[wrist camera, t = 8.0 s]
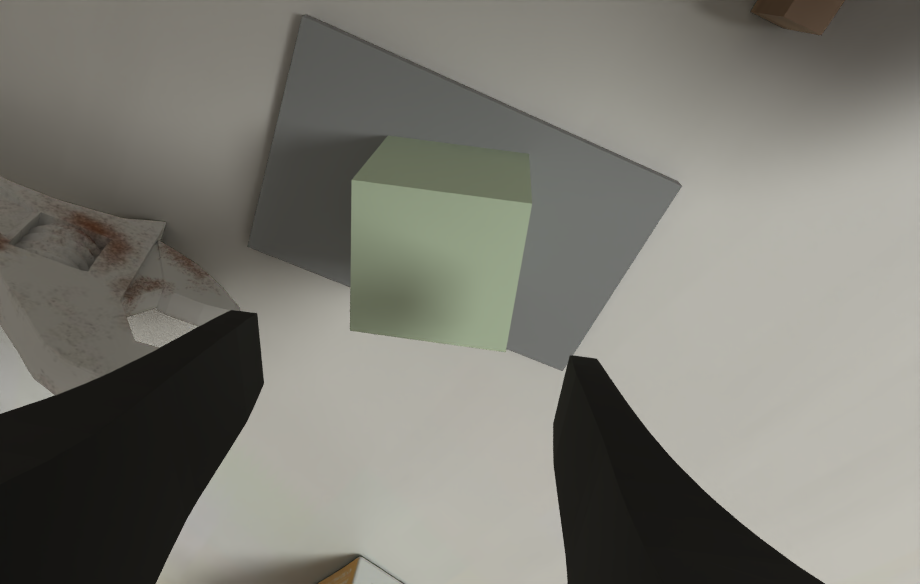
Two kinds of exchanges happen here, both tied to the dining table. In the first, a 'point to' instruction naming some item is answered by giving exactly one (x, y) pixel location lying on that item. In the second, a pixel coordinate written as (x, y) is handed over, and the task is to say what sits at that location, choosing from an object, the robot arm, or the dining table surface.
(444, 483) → the dining table surface
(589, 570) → the robot arm
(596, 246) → the mat
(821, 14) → the wooden u-shaped frame
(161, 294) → the wrench
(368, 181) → the cube
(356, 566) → the small box
